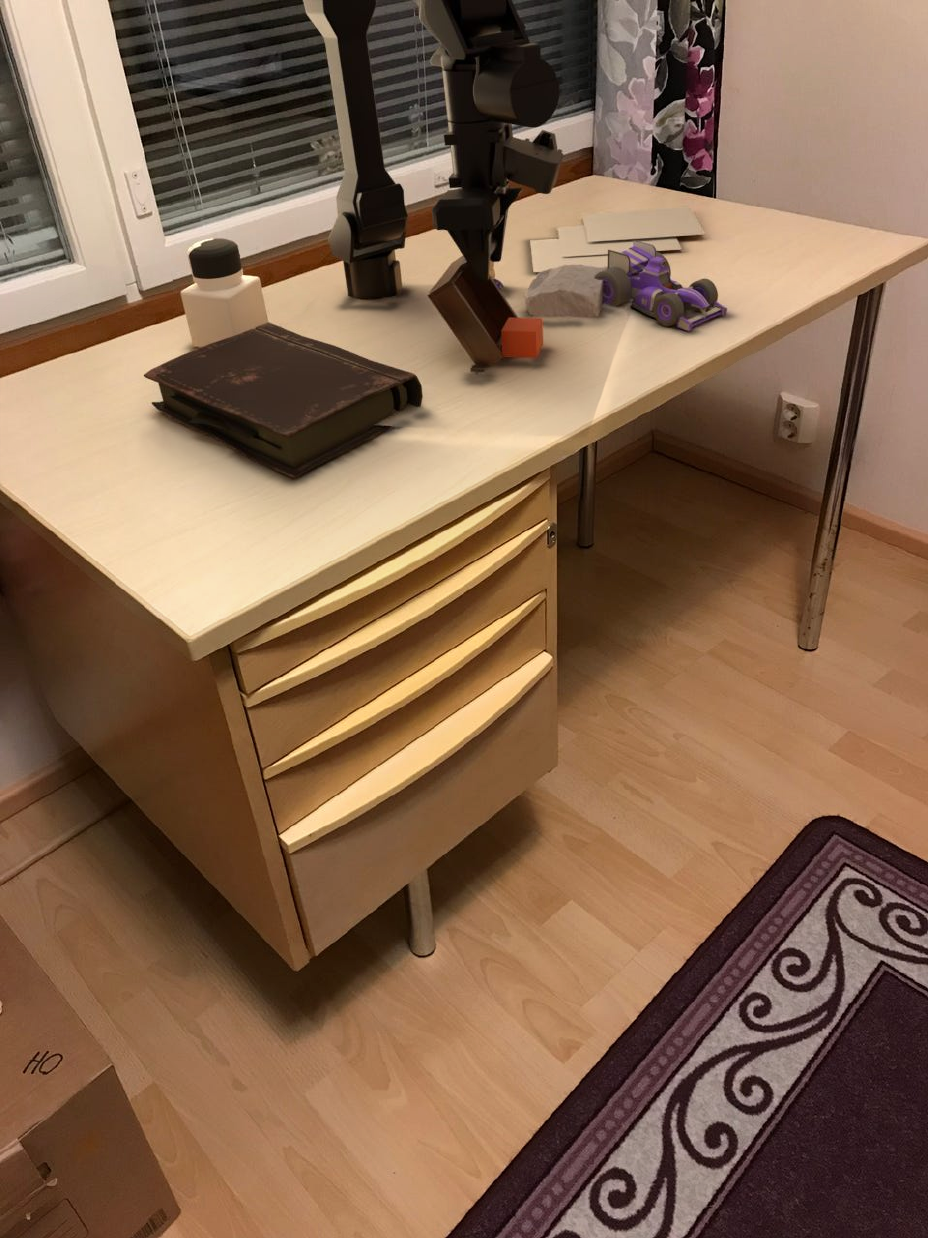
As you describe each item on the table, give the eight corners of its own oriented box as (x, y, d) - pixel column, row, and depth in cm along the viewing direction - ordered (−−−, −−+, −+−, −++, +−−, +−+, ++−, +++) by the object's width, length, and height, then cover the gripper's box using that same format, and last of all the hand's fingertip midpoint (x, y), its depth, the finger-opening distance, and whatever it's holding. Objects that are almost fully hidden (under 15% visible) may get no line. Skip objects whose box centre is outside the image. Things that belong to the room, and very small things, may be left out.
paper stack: (717, 260, 136) (717, 255, 136) (533, 272, 138) (533, 267, 137) (689, 210, 155) (689, 205, 154) (527, 221, 156) (527, 216, 156)
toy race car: (681, 336, 117) (685, 281, 113) (590, 305, 127) (591, 253, 123) (734, 312, 122) (739, 259, 118) (642, 284, 131) (644, 234, 127)
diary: (280, 357, 121) (272, 316, 118) (425, 412, 106) (420, 368, 103) (147, 414, 111) (135, 372, 108) (287, 484, 96) (278, 437, 93)
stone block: (525, 336, 125) (605, 321, 121) (516, 299, 122) (597, 282, 119) (539, 304, 134) (613, 289, 131) (531, 268, 131) (607, 253, 128)
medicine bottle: (271, 331, 128) (252, 235, 120) (239, 353, 123) (217, 254, 115) (225, 326, 130) (204, 231, 123) (192, 347, 125) (168, 250, 118)
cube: (535, 331, 111) (536, 365, 114) (542, 318, 114) (543, 351, 117) (500, 330, 112) (502, 364, 115) (508, 317, 115) (509, 350, 118)
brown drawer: (424, 291, 108) (474, 257, 105) (448, 259, 116) (496, 226, 112) (480, 371, 113) (530, 341, 109) (500, 335, 120) (548, 306, 117)
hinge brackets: (469, 381, 112) (468, 370, 111) (497, 332, 122) (497, 321, 121) (483, 382, 111) (482, 370, 110) (510, 333, 122) (510, 321, 121)
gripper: (536, 133, 92) (546, 300, 101) (569, 91, 106) (575, 241, 116) (421, 140, 95) (441, 302, 104) (468, 98, 109) (481, 244, 118)
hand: (489, 270), depth 111 cm, fingers closed on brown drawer, 6 cm apart
